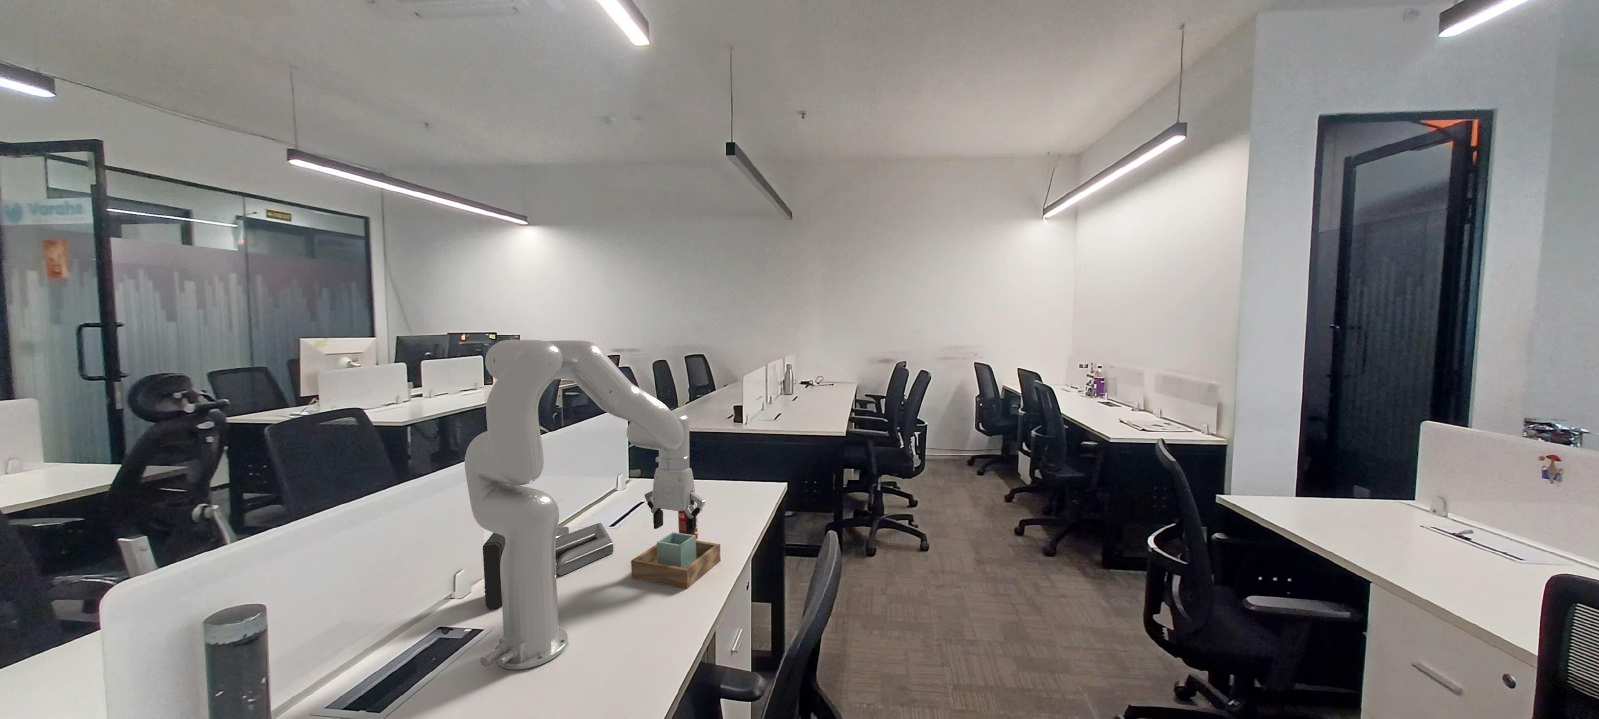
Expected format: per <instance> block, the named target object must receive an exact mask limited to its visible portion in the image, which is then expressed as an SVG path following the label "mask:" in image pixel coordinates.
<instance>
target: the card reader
mask: <svg viewBox="0 0 1599 719" xmlns="http://www.w3.org/2000/svg"><path fill="white" fill-rule="evenodd" d="M505 543H506V539H505V537H504V536H501V535H499V534H496V533H494V532H492V534H491V535H490V536H489V538H487V540H486V542H485V543H484V544H483V546H482V559H483V560H482V562H483V577H484V579H483V580H484V598H485V599H484V602H485V606H486V608H487V609H489V610H490V609H499V608H502V592H501V576H500V562H501V556H502V553H503V550H504V547H505Z"/></svg>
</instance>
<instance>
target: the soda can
mask: <svg viewBox="0 0 1599 719" xmlns="http://www.w3.org/2000/svg"><path fill="white" fill-rule="evenodd" d="M694 507H695V508H696V507H697V503H696V502H695V503H694ZM690 511H691V510H690ZM677 516H678V518H677V519H678V521H677V522H678V533H682V534H687V533H686V519H687V518H689V517H688V516H687V514H686V513H685V511H677ZM698 528H699V527H698V515H697V516H696V529H695V531H694V532H692V533H691V534H689V535H696V541H699V538H698V536H699V535H698V534H699V533H698V531H699V530H698Z"/></svg>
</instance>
